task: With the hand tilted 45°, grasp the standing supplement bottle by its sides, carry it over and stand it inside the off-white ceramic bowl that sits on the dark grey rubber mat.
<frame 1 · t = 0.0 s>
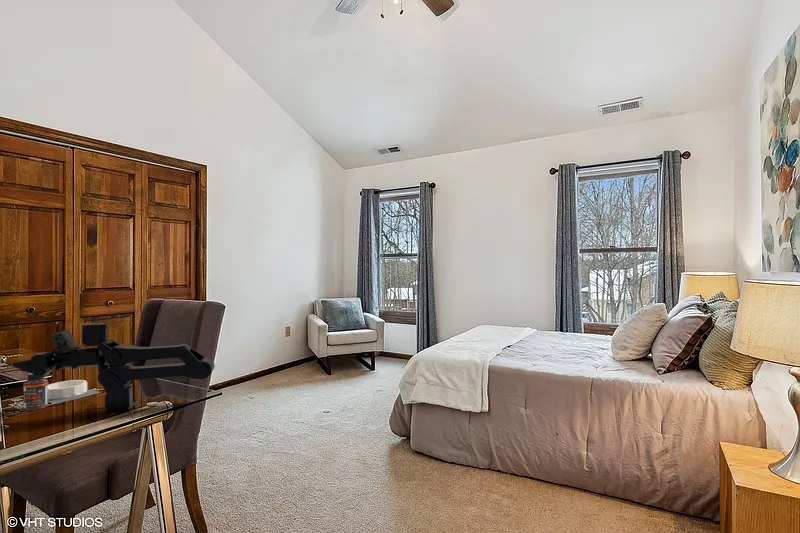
hand: (22, 361, 130), 17 cm above the table, tool horizontal, fingers open, 9 cm apart
mat: (65, 395, 151), on the table
supplement bottle: (36, 409, 137), on the table
bowl: (65, 394, 151), resting on mat
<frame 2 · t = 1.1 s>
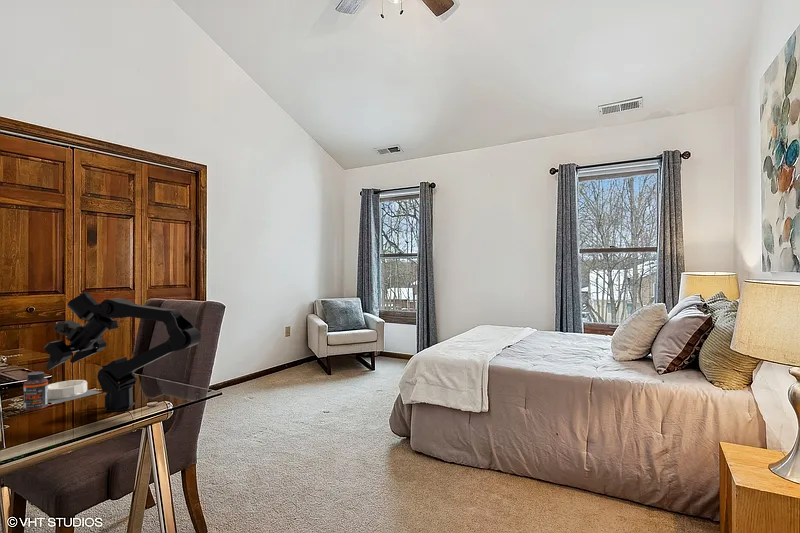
hand: (59, 365, 137), 14 cm above the table, tool tilted 45°, fingers open, 9 cm apart
nothing on the table moved.
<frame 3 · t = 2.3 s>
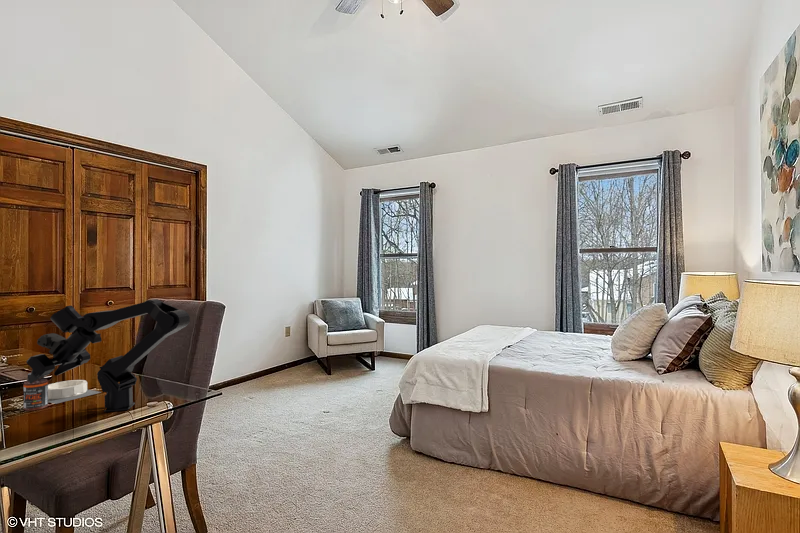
hand: (42, 378, 137), 10 cm above the table, tool tilted 45°, fingers open, 9 cm apart
nothing on the table moved.
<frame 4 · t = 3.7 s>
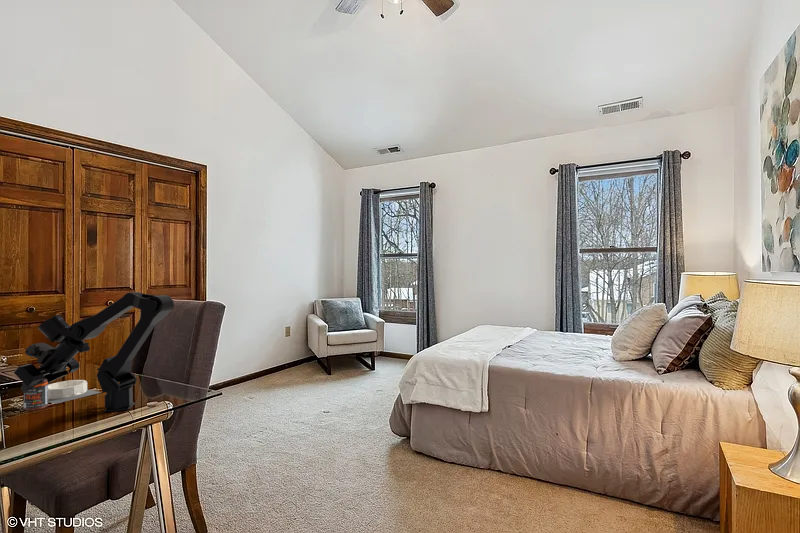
hand: (31, 387, 137), 7 cm above the table, tool tilted 45°, fingers closed on supplement bottle, 6 cm apart
supplement bottle: (36, 409, 137), on the table, touching gripper
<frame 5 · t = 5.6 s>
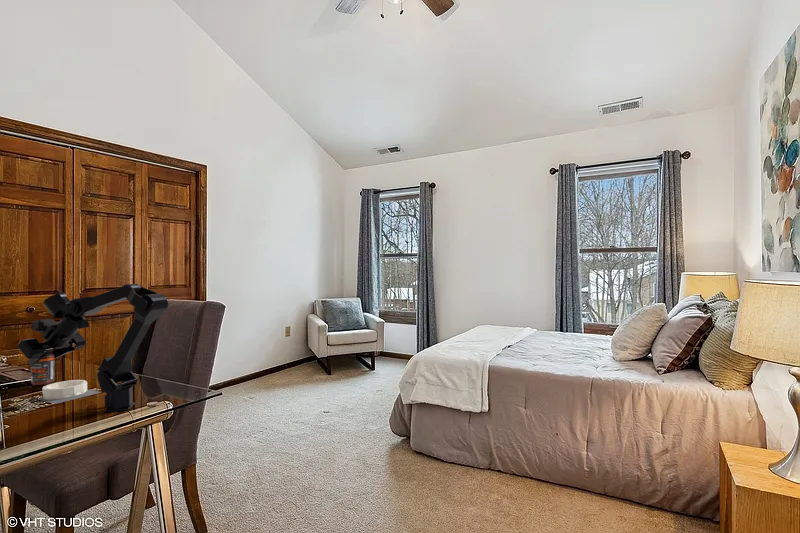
hand: (39, 362, 142), 14 cm above the table, tool tilted 45°, fingers closed on supplement bottle, 6 cm apart
supplement bottle: (43, 383, 141), point 7 cm above the table, touching gripper
when the fingers open (9 cm above the table, at t = 7.5 s): supplement bottle drops 1 cm, resting on bowl.
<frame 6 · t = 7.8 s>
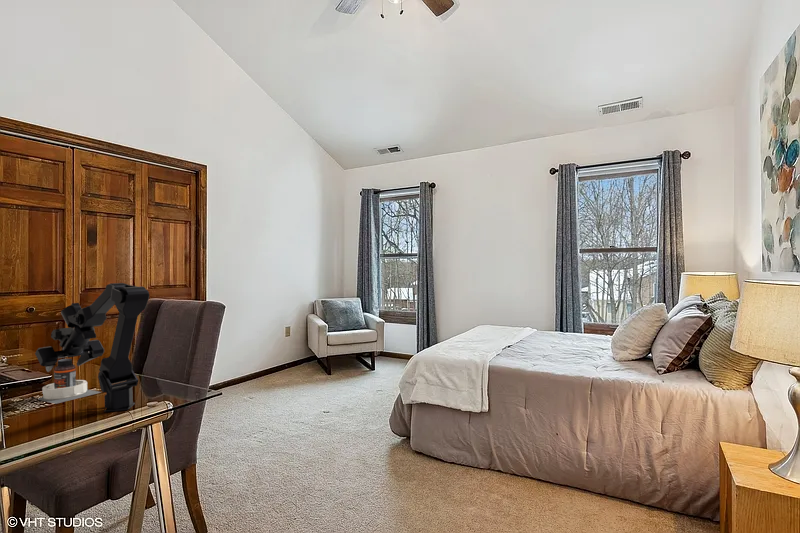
hand: (62, 367, 152), 10 cm above the table, tool tilted 45°, fingers open, 9 cm apart
supplement bottle: (65, 392, 151), point 1 cm above the table, touching bowl
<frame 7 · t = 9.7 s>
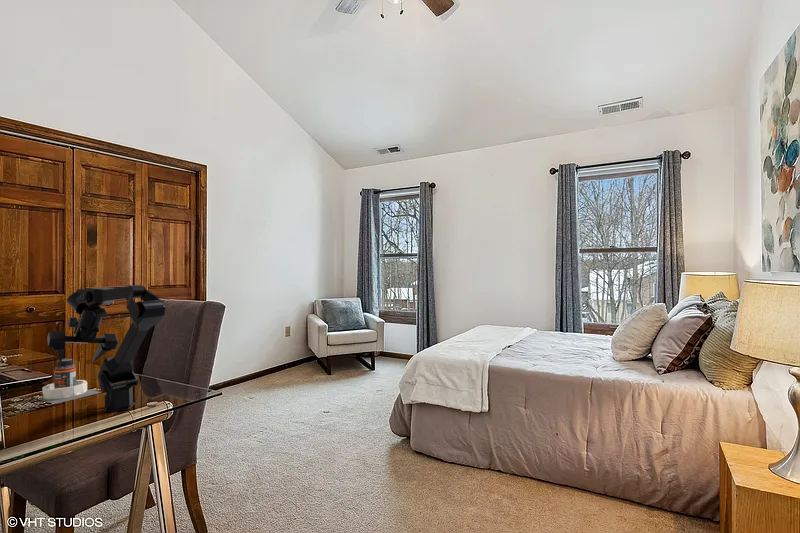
hand: (77, 361, 146), 13 cm above the table, tool tilted 30°, fingers open, 9 cm apart
nothing on the table moved.
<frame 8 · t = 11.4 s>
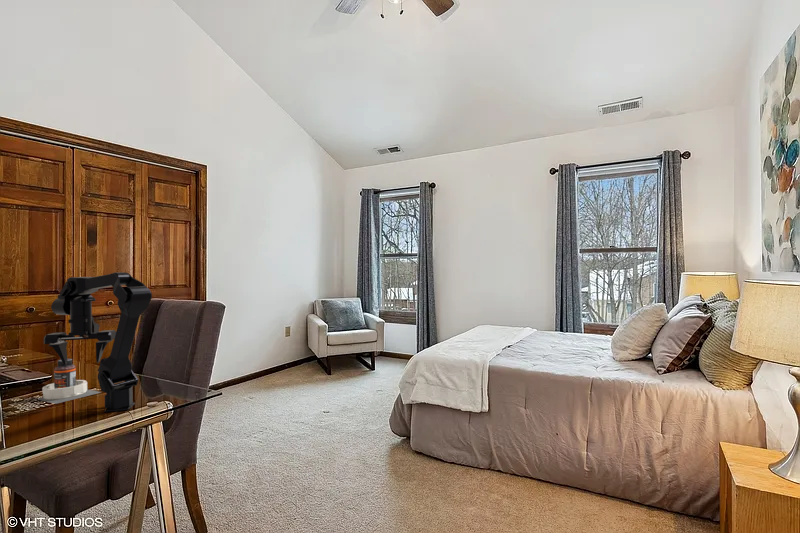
hand: (82, 363, 142), 13 cm above the table, tool pointing down, fingers open, 9 cm apart
nothing on the table moved.
at the end: supplement bottle 0.3 cm from the bowl (horizontally); supplement bottle point 1.0 cm above the table; supplement bottle tilted 0° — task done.
